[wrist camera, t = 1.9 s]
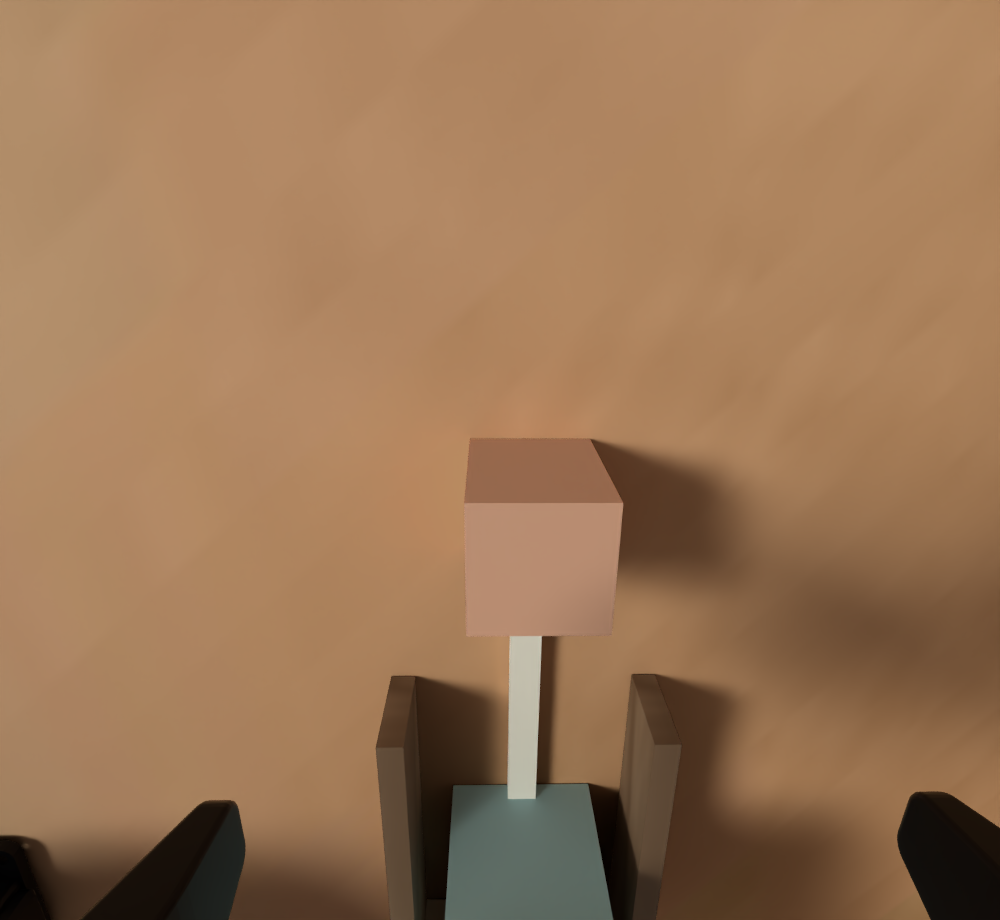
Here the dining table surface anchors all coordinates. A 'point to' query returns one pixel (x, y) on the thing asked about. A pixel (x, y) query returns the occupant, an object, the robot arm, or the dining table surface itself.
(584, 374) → the dining table surface
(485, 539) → the tethered block
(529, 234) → the dining table surface
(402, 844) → the shelf lane
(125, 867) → the dining table surface
